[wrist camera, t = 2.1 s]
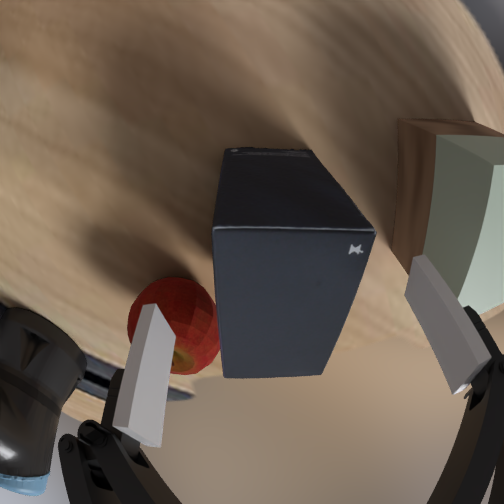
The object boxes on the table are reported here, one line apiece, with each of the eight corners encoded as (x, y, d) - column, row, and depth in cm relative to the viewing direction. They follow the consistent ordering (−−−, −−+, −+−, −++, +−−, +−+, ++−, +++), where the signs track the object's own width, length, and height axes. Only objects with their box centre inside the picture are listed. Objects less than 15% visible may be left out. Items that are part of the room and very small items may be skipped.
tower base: (389, 248, 24) (414, 284, 19) (395, 118, 17) (436, 134, 12) (458, 233, 23) (485, 261, 19) (473, 121, 16) (512, 138, 12)
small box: (218, 145, 17) (201, 223, 9) (314, 148, 18) (387, 225, 9) (221, 271, 23) (219, 383, 15) (297, 269, 24) (327, 376, 15)
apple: (198, 246, 22) (186, 322, 15) (237, 308, 26) (240, 380, 20) (124, 275, 23) (98, 345, 17) (170, 328, 28) (160, 394, 21)
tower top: (415, 284, 19) (443, 330, 15) (436, 134, 12) (493, 165, 8) (485, 261, 19) (514, 296, 15) (512, 138, 12) (558, 164, 8)
